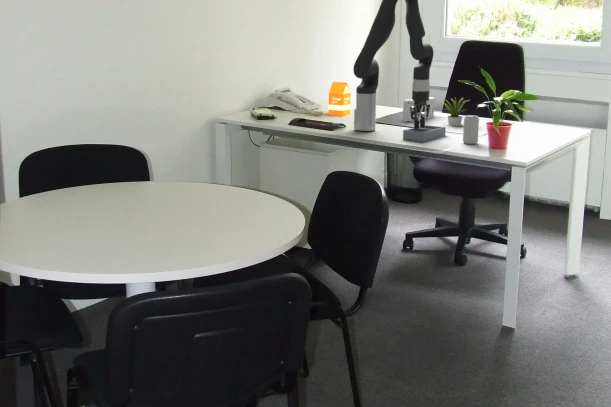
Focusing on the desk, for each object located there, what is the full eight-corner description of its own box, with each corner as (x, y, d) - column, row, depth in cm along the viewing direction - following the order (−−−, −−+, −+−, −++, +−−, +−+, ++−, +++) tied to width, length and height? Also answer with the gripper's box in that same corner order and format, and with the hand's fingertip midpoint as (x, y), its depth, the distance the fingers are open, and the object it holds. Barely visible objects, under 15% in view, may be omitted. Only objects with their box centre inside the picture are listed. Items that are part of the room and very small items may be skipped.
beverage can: (477, 144, 343) (479, 117, 340) (462, 144, 345) (464, 116, 342) (477, 142, 349) (479, 115, 347) (462, 141, 351) (464, 114, 348)
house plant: (470, 127, 393) (472, 94, 389) (473, 131, 380) (475, 97, 376) (441, 126, 395) (442, 93, 391) (443, 131, 381) (444, 96, 377)
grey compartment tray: (423, 142, 348) (423, 132, 347) (402, 140, 355) (403, 130, 354) (445, 137, 363) (445, 127, 362) (425, 134, 370) (425, 125, 369)
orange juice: (342, 122, 410) (343, 83, 405) (328, 120, 414) (328, 82, 409) (350, 120, 416) (351, 82, 411) (335, 119, 421) (336, 81, 416)
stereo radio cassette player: (421, 121, 414) (422, 82, 409) (435, 122, 409) (437, 83, 404) (401, 126, 397) (403, 85, 392) (416, 127, 392) (417, 86, 388)
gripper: (421, 87, 358) (420, 125, 362) (405, 90, 347) (403, 129, 351) (436, 89, 353) (434, 127, 357) (420, 91, 342) (418, 130, 346)
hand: (419, 128), depth 354 cm, fingers open, 4 cm apart
